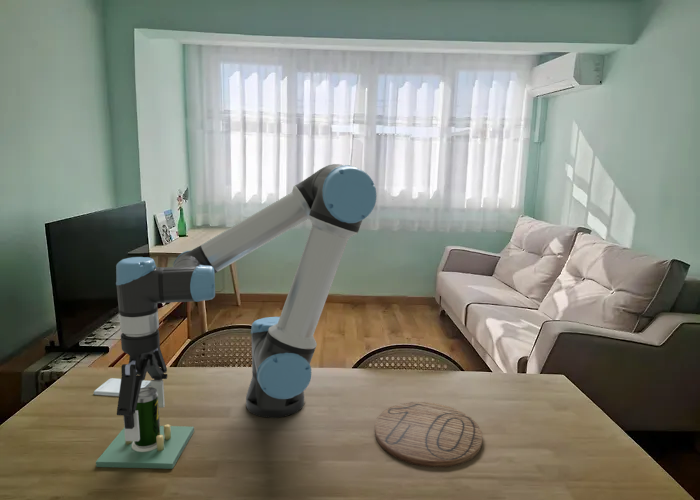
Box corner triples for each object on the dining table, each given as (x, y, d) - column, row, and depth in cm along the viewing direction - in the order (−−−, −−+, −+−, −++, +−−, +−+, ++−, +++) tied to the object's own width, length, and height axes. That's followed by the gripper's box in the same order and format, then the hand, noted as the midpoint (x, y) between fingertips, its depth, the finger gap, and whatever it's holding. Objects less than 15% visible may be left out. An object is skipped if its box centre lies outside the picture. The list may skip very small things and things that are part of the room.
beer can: (137, 452, 107) (133, 400, 104) (132, 439, 111) (129, 390, 109) (163, 444, 110) (160, 394, 107) (157, 433, 114) (154, 384, 112)
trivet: (360, 453, 111) (360, 445, 110) (390, 401, 134) (390, 394, 133) (475, 480, 102) (476, 472, 102) (486, 420, 126) (487, 413, 125)
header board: (194, 431, 118) (193, 414, 117) (172, 468, 104) (171, 450, 103) (126, 429, 118) (125, 413, 117) (96, 466, 104) (94, 448, 103)
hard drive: (152, 380, 140) (110, 377, 142) (137, 393, 132) (93, 390, 134) (153, 385, 141) (111, 382, 142) (137, 399, 133) (93, 396, 134)
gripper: (146, 311, 117) (152, 394, 122) (91, 354, 93) (100, 456, 97) (178, 312, 117) (182, 395, 122) (131, 355, 93) (139, 457, 97)
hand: (146, 422), depth 109 cm, fingers open, 13 cm apart
